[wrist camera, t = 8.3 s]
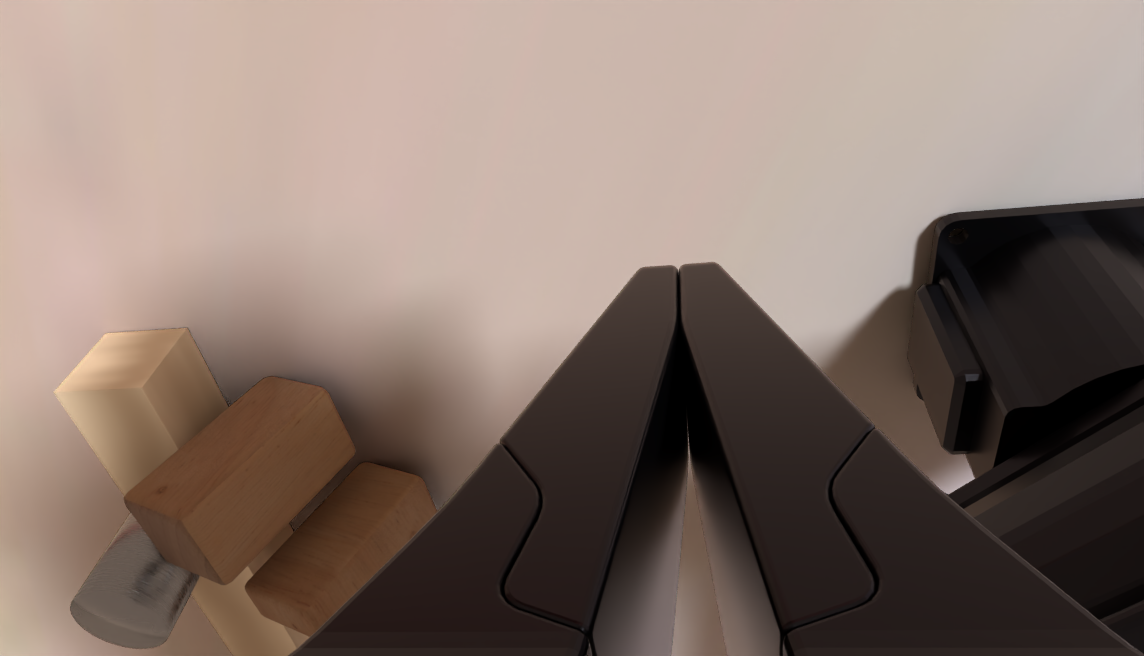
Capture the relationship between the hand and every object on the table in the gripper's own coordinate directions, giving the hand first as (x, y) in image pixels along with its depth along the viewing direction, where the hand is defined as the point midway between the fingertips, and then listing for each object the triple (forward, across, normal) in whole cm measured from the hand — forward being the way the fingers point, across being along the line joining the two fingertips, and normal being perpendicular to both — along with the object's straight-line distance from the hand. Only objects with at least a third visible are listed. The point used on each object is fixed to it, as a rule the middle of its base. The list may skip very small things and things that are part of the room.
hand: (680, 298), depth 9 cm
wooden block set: (+13, +12, +20) cm, 27 cm away
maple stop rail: (+13, +18, +21) cm, 31 cm away
